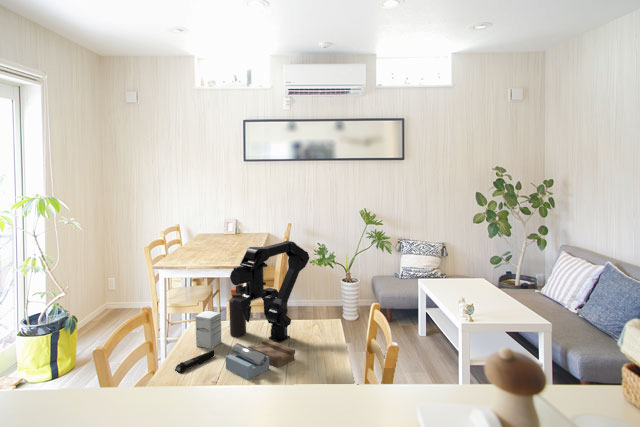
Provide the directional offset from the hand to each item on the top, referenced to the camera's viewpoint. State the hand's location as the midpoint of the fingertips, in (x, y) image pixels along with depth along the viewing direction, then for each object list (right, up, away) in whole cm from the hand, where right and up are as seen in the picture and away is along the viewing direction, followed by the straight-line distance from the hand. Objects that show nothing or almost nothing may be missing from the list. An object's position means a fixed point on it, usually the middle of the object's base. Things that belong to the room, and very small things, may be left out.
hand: (256, 318), depth 158 cm
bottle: (-10, -11, +15) cm, 21 cm away
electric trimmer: (-21, -14, -12) cm, 28 cm away
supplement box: (-20, -12, +5) cm, 24 cm away
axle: (-1, -11, -16) cm, 19 cm away
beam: (+6, -13, -7) cm, 16 cm away
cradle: (-1, -14, -15) cm, 21 cm away
